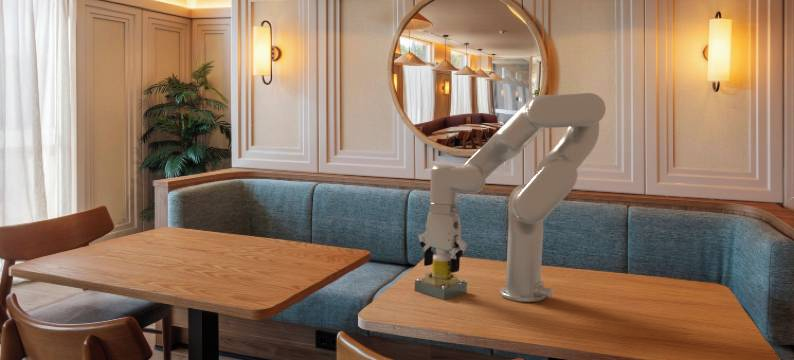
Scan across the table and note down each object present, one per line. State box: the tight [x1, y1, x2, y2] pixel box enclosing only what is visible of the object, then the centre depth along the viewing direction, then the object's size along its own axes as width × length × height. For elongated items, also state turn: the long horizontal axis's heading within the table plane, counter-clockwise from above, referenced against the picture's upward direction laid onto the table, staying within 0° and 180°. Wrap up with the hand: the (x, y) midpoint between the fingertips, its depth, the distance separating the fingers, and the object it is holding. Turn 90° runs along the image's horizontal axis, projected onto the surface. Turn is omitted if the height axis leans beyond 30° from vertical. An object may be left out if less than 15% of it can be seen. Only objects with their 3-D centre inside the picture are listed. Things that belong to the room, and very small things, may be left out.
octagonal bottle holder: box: [414, 271, 468, 301], centre depth 169 cm, size 11×10×5 cm
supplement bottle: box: [431, 248, 453, 279], centre depth 169 cm, size 5×5×10 cm
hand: (441, 268), depth 169 cm, fingers open, 9 cm apart
